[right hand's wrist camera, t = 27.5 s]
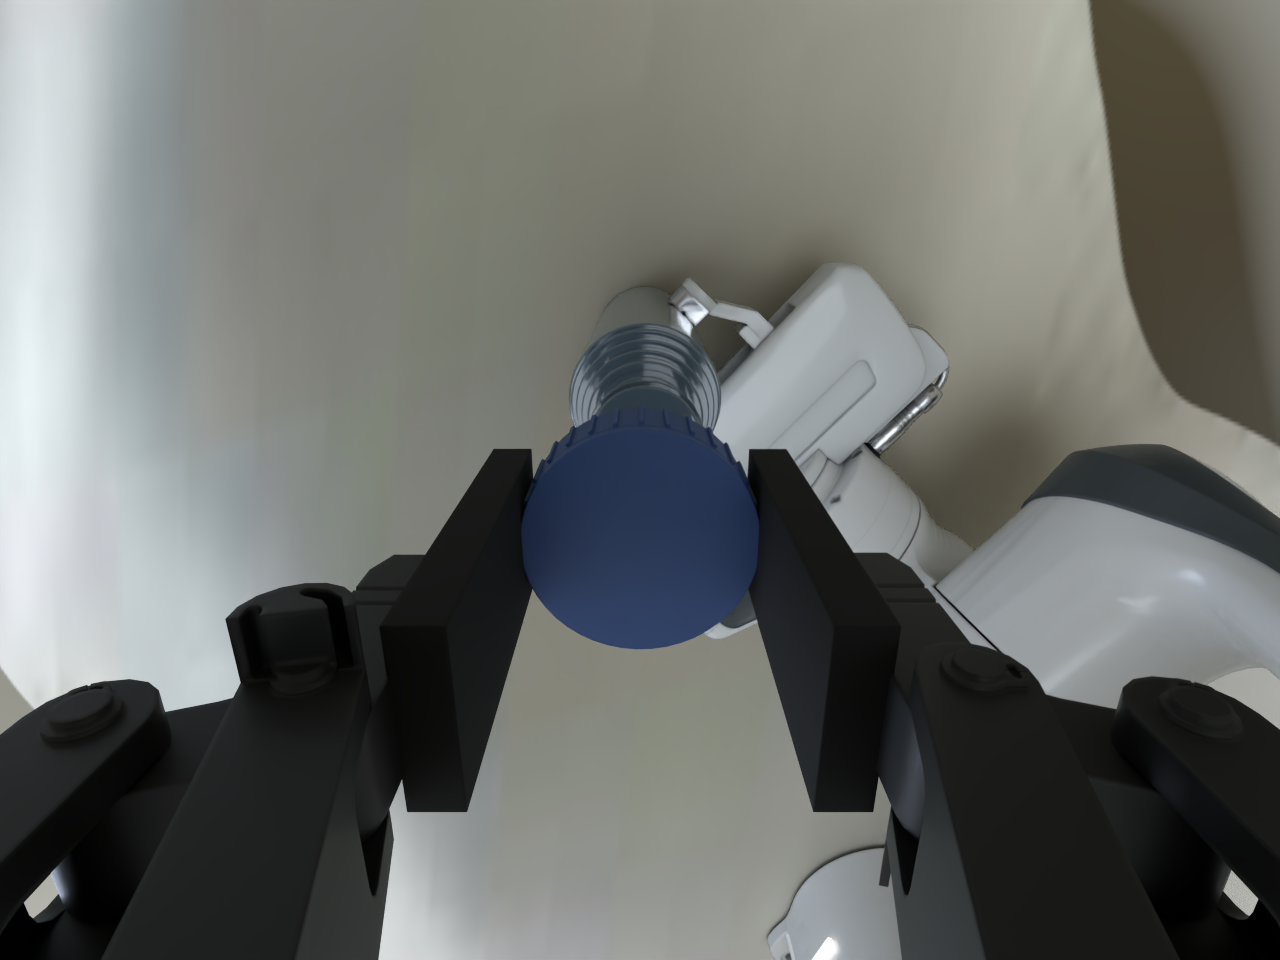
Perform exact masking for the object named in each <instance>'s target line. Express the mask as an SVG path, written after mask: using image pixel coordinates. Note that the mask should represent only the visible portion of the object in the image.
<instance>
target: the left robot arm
mask: <svg viewBox="0 0 1280 960" xmlns="http://www.w3.org/2000/svg"><path fill="white" fill-rule="evenodd" d="M669 301H670V302H671V303H672V304H673V305H674V306H675V307H676V308H678V309H679V310H680V311H684V313H685V315H686V317H687V318H688V319H689V320H690V321H691V322H692V323H693V324H694V325H695V326H696V325H697V324H698V323H699V322H700V321H701V320H702V319H703V318H704V317H705V316H706V315H707V314H708V315H711V316H715V317H720V318H724V319H728V320H732V321H736V322H738V323H737V324H736V325H735V326H734V329H735V330H736V331H737V332H738V334H739V335H740V336H741V337H742V338H743V339H744V340H745V341H746V342H747V343H746V344H745V345H744V346H743V347H742V348H741V349H740V350H739V351H738V352H737V353H736V354H735V355H734V356H733V357H732V358H731V359H730V360H729V361H728V362H727V364H726V365H725V366H724V367H723V368H722V369H721V370H720V371H719V372H718V373H717V374H718V378H719V381H720V387H721V408H720V414H719V418H718V421H717V424H716V427H715V429H714V431H713V434H714V435H715V436H716V437H717V438H718V439H719V440H720V441H721V442H723V444H724V443H725V442H727V444H728V445H729V447H730V450H731V452H732V455H733V457H734V458H735V460H736V462H738V461H740V462H741V464H742V466H743V469H744V471H745V474H746V476H748V459H749V449H787V450H788V452H789V454H790V455H791V457H792V458H793V460H794V461H795V463H796V464H797V466H798V467H799V469H800V471H801V472H802V474H803V475H804V477H805V478H806V480H807V481H808V483H809V484H810V486H811V488H812V489H813V491H814V492H815V494H816V495H817V497H818V498H819V500H820V501H821V503H822V505H823V506H824V508H825V509H826V511H827V512H828V514H829V515H830V517H831V518H832V520H833V521H834V523H835V525H836V526H837V528H838V529H839V531H840V532H841V534H842V535H843V537H844V538H845V540H846V542H847V543H848V545H849V546H850V548H851V549H852V551H853V552H854V553H888V554H890V555H892V556H893V557H895V558H896V559H898V560H900V561H901V562H903V563H905V564H906V565H908V566H910V567H911V568H912V569H913V570H914V572H915V573H916V574H917V576H918V577H919V578H920V579H921V581H922V582H923V583H924V584H925V588H928V590H929V591H930V592H931V593H932V595H933V596H934V597H935V598H936V603H939V604H940V605H941V606H942V607H943V609H944V610H945V611H946V612H947V614H948V615H949V616H950V618H951V619H952V620H953V621H954V623H955V624H956V625H957V626H958V628H959V629H960V630H961V631H962V633H963V634H964V635H965V637H966V638H967V639H968V640H969V642H970V643H971V644H975V645H980V646H985V647H988V648H991V649H993V650H996V651H998V652H1001V653H1003V654H1006V655H1008V656H1010V657H1012V658H1013V659H1015V660H1016V661H1018V662H1019V663H1021V664H1022V665H1024V666H1025V667H1027V668H1028V669H1029V670H1030V671H1031V673H1032V674H1033V675H1034V676H1035V677H1036V679H1037V680H1038V681H1039V682H1040V684H1041V686H1042V688H1043V690H1044V692H1045V694H1046V695H1050V696H1054V697H1058V698H1062V699H1067V700H1072V701H1077V702H1082V703H1087V704H1093V705H1098V706H1103V707H1108V708H1113V709H1117V705H1118V702H1119V699H1120V695H1121V692H1122V688H1123V687H1124V686H1125V685H1126V684H1127V683H1129V682H1130V681H1131V680H1133V679H1136V678H1143V677H1149V676H1157V677H1167V678H1180V679H1185V680H1190V681H1191V682H1192V683H1194V682H1197V683H1200V684H1203V685H1208V684H1209V683H1211V682H1213V681H1214V680H1216V679H1218V678H1220V677H1223V676H1225V675H1227V674H1230V673H1233V672H1237V671H1241V670H1245V669H1250V668H1265V669H1268V670H1269V671H1270V672H1271V673H1272V674H1273V675H1275V676H1276V677H1277V678H1278V679H1279V680H1280V518H1279V517H1277V516H1276V515H1274V514H1273V513H1272V512H1270V511H1269V510H1268V509H1267V508H1266V507H1265V506H1264V505H1263V504H1262V503H1261V502H1259V501H1258V500H1257V499H1256V498H1255V497H1254V496H1252V495H1251V494H1250V493H1249V492H1247V491H1246V490H1245V489H1244V488H1242V487H1241V486H1240V485H1239V484H1237V483H1236V482H1234V481H1233V480H1231V479H1230V478H1228V477H1227V476H1226V475H1224V474H1223V473H1221V472H1220V471H1218V470H1216V469H1214V468H1212V467H1211V466H1209V465H1207V464H1205V463H1203V462H1202V461H1200V460H1197V459H1195V458H1193V457H1190V456H1188V455H1186V454H1184V453H1182V452H1180V451H1178V450H1176V449H1174V448H1171V447H1169V446H1165V445H1158V444H1132V445H1117V446H1109V447H1100V448H1094V449H1088V450H1082V451H1076V452H1073V453H1071V454H1069V455H1068V456H1067V457H1066V458H1065V459H1064V460H1063V462H1062V463H1061V464H1060V465H1059V466H1058V467H1057V468H1056V469H1055V470H1054V471H1053V472H1052V473H1051V474H1050V475H1049V476H1048V478H1047V479H1046V480H1045V481H1044V482H1043V483H1042V484H1041V485H1040V486H1039V487H1038V488H1037V489H1036V490H1035V491H1034V492H1033V494H1032V495H1031V496H1030V497H1029V498H1028V499H1027V500H1026V501H1025V502H1024V503H1023V505H1022V507H1021V510H1020V511H1019V512H1018V513H1017V514H1015V515H1014V516H1013V517H1012V518H1011V519H1010V520H1009V521H1008V522H1007V523H1005V524H1004V525H1003V526H1002V527H1001V528H1000V529H999V530H998V531H996V532H995V533H994V534H993V535H992V536H991V537H990V538H989V539H988V540H986V541H985V542H984V543H983V544H982V545H981V546H980V547H979V548H978V549H976V550H975V551H974V550H973V549H972V548H971V547H970V546H969V545H968V544H967V543H966V542H964V541H963V540H962V539H961V538H960V537H958V536H956V535H955V534H953V533H951V532H949V531H947V530H945V529H943V528H941V527H939V526H938V525H937V524H936V523H935V522H934V521H933V520H932V519H931V517H930V516H929V514H928V512H927V509H926V508H925V506H924V504H923V502H922V501H921V499H920V498H919V497H918V496H917V495H916V493H915V492H914V491H913V490H912V489H911V488H910V487H909V486H908V485H907V484H906V483H905V482H904V481H902V480H901V479H900V478H899V477H898V476H897V475H896V474H895V473H894V472H893V471H892V470H891V469H890V468H889V467H888V466H887V465H886V464H885V463H884V462H883V461H882V460H881V459H880V457H879V456H880V455H881V454H882V453H884V452H885V451H886V450H887V449H888V448H889V447H890V446H891V445H892V444H893V443H894V442H895V441H897V440H898V439H899V438H900V437H901V436H902V435H903V434H904V433H905V431H906V430H907V429H908V428H909V426H911V425H912V422H913V423H914V422H915V421H916V419H918V418H919V417H920V416H921V415H922V414H923V413H924V414H925V413H926V412H928V411H929V410H930V409H931V408H933V407H934V406H935V405H936V403H937V402H938V401H939V400H940V399H941V397H942V395H943V394H942V392H941V391H940V390H941V388H942V387H943V385H944V384H945V382H946V380H947V377H948V373H949V360H948V357H947V354H946V352H945V351H944V349H943V348H942V347H941V346H940V345H939V344H938V343H937V342H936V340H935V339H934V338H933V337H932V336H931V335H930V334H929V333H928V332H927V331H926V330H924V329H923V328H921V327H919V326H916V325H913V324H907V323H906V322H905V320H904V319H903V317H902V316H901V314H900V313H899V311H898V310H897V308H896V307H895V306H894V304H893V303H892V301H891V300H890V299H889V297H888V296H887V295H886V293H885V292H884V291H883V290H882V288H881V287H880V286H879V285H878V284H877V282H876V281H875V280H874V279H873V278H872V276H871V275H870V274H869V273H868V272H867V271H866V270H865V269H864V268H862V267H860V266H858V265H856V264H853V263H847V262H834V263H825V264H823V265H822V266H820V267H819V268H818V269H817V270H816V271H815V272H814V273H813V274H812V275H811V276H810V277H809V278H808V280H807V281H806V282H805V283H804V284H803V285H802V286H801V287H800V288H799V289H798V290H797V291H796V292H795V293H794V294H793V295H792V296H791V297H790V298H789V299H788V300H787V301H786V302H785V303H784V304H783V305H782V306H781V308H780V309H779V310H778V311H777V312H776V313H775V314H774V315H773V316H772V317H771V318H770V319H769V320H768V321H767V320H766V319H765V318H764V317H763V316H762V315H761V314H760V313H759V312H757V311H756V310H754V309H753V308H752V307H748V306H744V305H739V304H735V303H731V302H726V301H722V300H718V299H715V300H714V301H713V300H712V299H711V298H710V297H709V296H708V295H707V294H706V293H705V292H704V291H703V290H702V289H701V288H700V287H699V286H698V285H697V284H696V283H695V282H694V281H693V280H692V279H690V278H689V277H688V278H687V279H686V280H685V281H684V282H683V283H682V284H681V285H680V286H679V288H678V289H677V290H676V291H675V292H674V293H673V294H672V296H671V297H670V298H669ZM938 376H939V377H938ZM937 377H938V380H937V381H936V383H935V384H932V382H933V381H934V380H935V379H936V378H937ZM865 441H866V442H867V443H864V442H865ZM756 623H758V621H757V618H756V615H755V611H754V608H753V604H752V601H751V598H750V594H749V591H748V590H747V592H746V593H745V595H744V596H743V598H742V599H741V601H740V602H739V603H738V605H737V606H736V607H735V608H734V609H733V610H732V611H731V613H730V614H729V615H727V616H726V617H725V618H724V619H723V620H722V621H721V622H719V623H718V624H717V625H715V626H714V627H712V628H711V629H709V630H708V631H706V632H704V633H705V634H706V635H707V636H709V637H711V638H713V639H722V638H726V637H729V636H731V635H733V634H735V633H737V632H739V631H741V630H743V629H745V628H748V627H750V626H752V625H754V624H756ZM883 854H884V848H876V849H868V850H863V851H859V852H855V853H852V854H849V855H846V856H843V857H841V858H838V859H836V860H834V861H832V862H830V863H828V864H827V865H825V866H823V867H822V868H821V869H819V870H818V871H816V872H815V873H814V874H813V875H812V876H811V877H809V878H808V879H807V880H806V882H805V883H804V884H803V885H802V886H801V888H800V889H799V891H798V892H797V894H796V896H795V898H794V900H793V903H792V905H791V908H790V911H789V913H788V915H787V916H786V918H785V919H784V920H783V921H782V922H781V923H780V924H779V925H778V926H776V927H775V928H774V930H773V931H772V932H771V933H770V934H769V936H768V938H767V942H768V946H769V949H770V952H771V954H772V956H773V957H774V958H775V960H902V955H901V948H900V940H899V932H898V925H897V917H896V909H895V901H894V894H893V886H892V878H891V874H890V880H889V886H888V887H884V886H879V880H880V872H881V866H882V860H883Z"/></svg>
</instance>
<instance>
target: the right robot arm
mask: <svg viewBox="0 0 1280 960" xmlns="http://www.w3.org/2000/svg"><path fill="white" fill-rule="evenodd" d="M747 478H748V481H749V483H750V487H751V489H752V491H753V494H754V496H755V499H756V501H757V506H756V508H757V512H758V516H759V520H760V524H759V541H758V556H757V569H756V573H755V576H754V578H753V580H752V582H751V584H750V586H749V588H748V591H749V594H750V598H751V601H752V604H753V608H754V611H755V615H756V618H757V621H758V625H759V628H760V632H761V635H762V638H763V642H764V645H765V649H766V652H767V656H768V659H769V662H770V666H771V669H772V673H773V676H774V679H775V683H776V686H777V690H778V693H779V696H780V700H781V703H782V707H783V710H784V713H785V717H786V720H787V724H788V727H789V730H790V734H791V737H792V741H793V744H794V747H795V751H796V754H797V758H798V761H799V764H800V768H801V771H802V775H803V778H804V781H805V785H806V788H807V792H808V795H809V798H810V802H811V805H812V809H813V812H873V810H874V803H875V797H876V790H877V784H878V777H879V778H880V780H881V782H882V785H883V787H884V789H885V792H886V794H887V796H888V799H889V801H890V803H891V811H890V817H889V823H888V829H887V835H886V841H885V847H884V854H883V860H882V866H881V872H880V880H879V886H884V887H888V886H889V880H890V874H891V878H892V886H893V894H894V901H895V909H896V917H897V925H898V932H899V940H900V948H901V955H902V960H1280V730H1279V729H1278V728H1277V727H1275V726H1274V725H1273V724H1272V723H1270V722H1269V721H1268V720H1266V719H1265V718H1264V717H1263V716H1261V715H1260V714H1259V713H1257V712H1255V711H1254V710H1252V709H1251V708H1249V707H1247V706H1246V705H1244V704H1243V703H1241V702H1239V701H1238V700H1236V699H1235V698H1232V697H1230V696H1228V695H1225V694H1223V693H1221V692H1218V691H1216V690H1214V689H1213V688H1211V687H1209V686H1207V685H1203V684H1200V683H1197V682H1194V683H1192V682H1191V681H1190V680H1185V679H1180V678H1167V677H1157V676H1149V677H1143V678H1136V679H1133V680H1131V681H1130V682H1129V683H1127V684H1126V685H1125V686H1124V687H1123V688H1122V692H1121V695H1120V699H1119V702H1118V705H1117V709H1113V708H1108V707H1103V706H1098V705H1093V704H1087V703H1082V702H1077V701H1072V700H1067V699H1062V698H1058V697H1054V696H1050V695H1046V694H1045V692H1044V690H1043V688H1042V686H1041V684H1040V682H1039V681H1038V680H1037V679H1036V677H1035V676H1034V675H1033V674H1032V673H1031V671H1030V670H1029V669H1028V668H1027V667H1025V666H1024V665H1022V664H1021V663H1019V662H1018V661H1016V660H1015V659H1013V658H1012V657H1010V656H1008V655H1006V654H1003V653H1001V652H998V651H996V650H993V649H991V648H988V647H985V646H980V645H975V644H971V643H970V642H969V640H968V639H967V638H966V637H965V635H964V634H963V633H962V631H961V630H960V629H959V628H958V626H957V625H956V624H955V623H954V621H953V620H952V619H951V618H950V616H949V615H948V614H947V612H946V611H945V610H944V609H943V607H942V606H941V605H940V604H939V603H936V598H935V597H934V596H933V595H932V593H931V592H930V591H929V590H928V588H925V584H924V583H923V582H922V581H921V579H920V578H919V577H918V576H917V574H916V573H915V572H914V570H913V569H912V568H911V567H910V566H908V565H906V564H905V563H903V562H901V561H900V560H898V559H896V558H895V557H893V556H892V555H890V554H888V553H854V552H853V551H852V549H851V548H850V546H849V545H848V543H847V542H846V540H845V538H844V537H843V535H842V534H841V532H840V531H839V529H838V528H837V526H836V525H835V523H834V521H833V520H832V518H831V517H830V515H829V514H828V512H827V511H826V509H825V508H824V506H823V505H822V503H821V501H820V500H819V498H818V497H817V495H816V494H815V492H814V491H813V489H812V488H811V486H810V484H809V483H808V481H807V480H806V478H805V477H804V475H803V474H802V472H801V471H800V469H799V467H798V466H797V464H796V463H795V461H794V460H793V458H792V457H791V455H790V454H789V452H788V450H787V449H749V459H748V476H747ZM532 481H533V469H532V451H531V449H494V450H493V451H492V453H491V454H490V456H489V457H488V459H487V460H486V462H485V464H484V465H483V467H482V468H481V470H480V471H479V473H478V474H477V476H476V477H475V479H474V481H473V482H472V484H471V485H470V487H469V488H468V490H467V491H466V493H465V494H464V496H463V498H462V499H461V501H460V502H459V504H458V505H457V507H456V508H455V510H454V511H453V513H452V514H451V516H450V518H449V519H448V521H447V522H446V524H445V525H444V527H443V528H442V530H441V531H440V533H439V535H438V536H437V538H436V539H435V541H434V542H433V544H432V545H431V547H430V548H429V550H428V552H427V553H426V555H393V556H391V557H390V558H388V559H386V560H385V561H383V562H382V563H380V564H378V565H377V566H375V567H373V568H372V569H370V570H369V571H368V573H367V574H366V575H365V577H364V578H363V579H362V580H361V582H360V583H359V584H358V585H357V587H356V591H353V592H352V593H351V592H350V591H349V590H347V589H346V588H345V587H342V586H338V585H333V584H329V583H304V584H298V585H293V586H287V587H282V588H278V589H276V590H273V591H270V592H267V593H264V594H261V595H258V596H256V597H254V598H252V599H251V600H249V601H247V602H245V603H243V604H242V605H240V606H238V607H237V608H236V609H235V610H234V611H233V612H232V613H231V614H230V615H229V616H228V617H227V618H226V623H227V628H228V632H229V636H230V640H231V644H232V648H233V652H234V657H235V661H236V665H237V669H238V673H239V677H240V681H241V684H240V686H239V688H238V690H237V692H236V693H235V695H234V697H233V698H231V699H227V700H223V701H219V702H214V703H209V704H204V705H199V706H194V707H189V708H184V709H179V710H173V711H168V712H165V710H164V707H163V703H162V700H161V697H160V693H159V690H158V689H156V688H155V687H154V686H153V685H151V684H150V683H149V682H144V681H138V680H131V679H127V680H117V681H103V682H98V683H93V684H91V685H90V686H87V685H86V686H82V687H79V688H76V689H73V690H71V691H69V692H68V693H66V694H64V695H62V696H59V697H57V698H55V699H53V700H50V701H48V702H46V703H44V704H43V705H41V706H40V707H38V708H37V709H35V710H33V711H32V712H30V713H29V714H27V715H26V716H24V717H22V718H21V719H20V720H19V721H17V722H16V723H15V724H13V725H12V726H11V727H10V728H8V729H7V730H6V731H5V732H3V733H2V734H1V735H0V960H378V957H379V949H380V942H381V934H382V926H383V918H384V911H385V903H386V895H387V887H388V880H389V872H390V864H391V856H392V849H393V841H394V838H393V830H392V823H391V817H390V811H389V808H390V806H391V803H392V801H393V799H394V796H395V794H396V792H397V789H398V787H399V785H400V782H401V780H402V781H403V787H404V794H405V800H406V807H407V812H467V810H468V807H469V803H470V800H471V797H472V793H473V790H474V786H475V783H476V780H477V776H478V773H479V769H480V766H481V763H482V759H483V756H484V752H485V749H486V745H487V742H488V739H489V735H490V732H491V728H492V725H493V722H494V718H495V715H496V711H497V708H498V705H499V701H500V698H501V694H502V691H503V688H504V684H505V681H506V677H507V674H508V671H509V667H510V664H511V660H512V657H513V654H514V650H515V647H516V643H517V640H518V637H519V633H520V630H521V626H522V623H523V620H524V616H525V613H526V609H527V606H528V603H529V599H530V596H531V592H532V589H533V588H532V586H531V585H530V583H529V580H528V578H527V575H526V573H525V570H524V563H523V549H522V534H521V521H522V516H523V512H524V509H525V506H526V505H525V504H524V500H525V498H526V495H527V493H528V490H529V488H530V486H531V483H532ZM1231 870H1232V871H1233V872H1234V873H1235V874H1236V875H1237V876H1238V877H1239V878H1240V879H1241V881H1242V882H1243V883H1244V884H1245V885H1246V886H1247V887H1248V888H1249V889H1250V890H1251V891H1252V892H1253V893H1254V894H1255V896H1256V897H1257V898H1258V902H1257V904H1256V906H1255V909H1254V911H1253V913H1252V914H1251V915H1250V916H1248V915H1246V914H1245V913H1244V912H1243V911H1242V910H1241V909H1239V908H1238V907H1237V906H1236V905H1235V904H1234V903H1233V902H1232V901H1231V899H1230V898H1229V897H1228V896H1227V895H1226V894H1225V893H1224V892H1223V890H1224V887H1225V885H1226V882H1227V880H1228V877H1229V875H1230V872H1231ZM50 874H51V876H52V878H53V880H54V883H55V886H56V888H57V891H58V893H59V894H58V895H57V896H56V897H55V899H54V900H53V901H52V902H51V903H50V904H49V905H48V907H47V908H46V909H44V910H43V911H42V912H41V913H39V914H38V915H37V916H36V917H34V918H32V917H30V916H29V914H28V912H27V909H26V907H25V905H24V902H25V901H26V900H27V898H28V897H29V896H30V895H31V894H32V893H33V892H34V891H35V890H36V889H37V888H38V887H39V885H40V884H41V883H42V882H43V881H44V880H45V879H46V878H47V877H48V876H49V875H50Z"/></svg>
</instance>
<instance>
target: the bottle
mask: <svg viewBox="0 0 1280 960" xmlns="http://www.w3.org/2000/svg"><path fill="white" fill-rule="evenodd" d="M671 296H672V295H670V294H669V293H667V292H665V291H663V290H660V289H658V288H654V287H636V288H632V289H628V290H626V291H624V292H622V293H620V294H619V295H617V296H616V297H615V298H614V299H612V300H611V302H610V303H609V304H608V305H607V307H606V308H605V310H604V311H603V313H602V315H601V317H600V319H599V321H598V323H597V325H596V327H595V329H594V332H593V334H592V336H591V338H590V340H589V342H588V344H587V346H586V348H585V350H584V352H583V354H582V356H581V358H580V360H579V362H578V364H577V366H576V368H575V370H574V373H573V376H572V379H571V384H570V389H569V406H570V412H571V417H572V420H573V423H574V426H575V427H578V426H580V425H581V424H583V423H585V422H586V421H588V420H591V416H592V415H594V414H596V416H600V415H603V414H606V413H609V412H613V411H615V408H618V407H619V410H624V409H633V408H639V406H640V405H643V406H644V408H648V409H658V410H664V408H668V412H672V413H676V414H678V415H681V416H684V417H687V415H689V416H691V418H692V420H693V421H694V422H696V423H698V424H700V425H702V426H703V427H705V428H706V429H707V428H708V427H710V428H711V429H712V432H713V431H714V429H715V427H716V424H717V421H718V418H719V414H720V408H721V387H720V381H719V378H718V374H717V372H716V369H715V367H714V364H713V363H712V361H711V359H710V357H709V355H708V353H707V351H706V349H705V347H704V345H703V344H702V342H701V340H700V338H699V336H698V334H697V332H696V330H695V328H694V326H693V325H692V323H691V321H690V320H689V319H688V318H687V317H686V315H685V313H684V311H680V310H679V309H678V308H676V307H675V306H674V305H673V304H672V303H671V302H670V301H669V298H670V297H671Z"/></svg>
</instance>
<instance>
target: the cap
mask: <svg viewBox="0 0 1280 960" xmlns="http://www.w3.org/2000/svg"><path fill="white" fill-rule="evenodd" d="M524 504H525V505H526V506H525V509H524V512H523V516H522V521H521V534H522V549H523V563H524V570H525V573H526V575H527V578H528V580H529V583H530V585H531V586H532V588H533V590H534V592H535V593H536V595H537V597H538V598H539V599H540V601H541V602H542V603H543V605H544V606H545V607H546V608H547V609H548V610H549V611H550V612H551V613H552V614H553V615H554V616H555V617H556V618H557V619H558V620H559V621H561V622H562V623H563V624H564V625H566V626H567V627H569V628H570V629H572V630H574V631H575V632H577V633H578V634H580V635H582V636H585V637H587V638H589V639H591V640H593V641H597V642H600V643H603V644H606V645H610V646H615V647H620V648H629V649H653V648H660V647H667V646H671V645H675V644H679V643H682V642H684V641H687V640H690V639H692V638H695V637H697V636H699V635H700V634H702V633H704V632H706V631H708V630H709V629H711V628H712V627H714V626H715V625H717V624H718V623H719V622H721V621H722V620H723V619H724V618H725V617H726V616H727V615H729V614H730V613H731V611H732V610H733V609H734V608H735V607H736V606H737V605H738V603H739V602H740V601H741V599H742V598H743V596H744V595H745V593H746V592H747V590H748V588H749V586H750V584H751V582H752V580H753V578H754V576H755V573H756V569H757V556H758V541H759V524H760V520H759V516H758V512H757V508H756V506H757V501H756V499H755V496H754V494H753V491H752V489H751V487H750V483H749V481H748V478H747V476H746V474H745V471H744V469H743V466H742V464H741V462H740V461H738V462H736V460H735V458H734V457H733V455H732V452H731V450H730V447H729V445H728V444H727V442H725V443H724V444H723V442H721V441H720V440H719V439H718V438H717V437H716V436H715V435H714V434H713V432H712V429H711V428H710V427H708V428H707V429H706V428H705V427H703V426H702V425H700V424H698V423H696V422H694V421H693V420H692V418H691V416H689V415H687V417H684V416H681V415H678V414H676V413H672V412H668V408H664V410H658V409H648V408H644V406H643V405H640V406H639V408H633V409H624V410H619V407H618V408H615V411H613V412H609V413H606V414H603V415H600V416H596V414H594V415H592V416H591V420H588V421H586V422H585V423H583V424H581V425H580V426H578V427H575V426H573V427H571V429H570V432H569V433H568V434H567V435H566V436H565V437H564V438H563V439H562V440H561V441H560V442H559V443H558V442H557V441H555V443H554V444H553V446H552V449H551V452H550V454H549V455H548V457H547V458H546V459H545V460H543V459H542V460H541V462H540V465H539V467H538V469H537V472H536V474H535V477H534V479H533V481H532V483H531V486H530V488H529V490H528V493H527V495H526V498H525V500H524Z"/></svg>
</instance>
